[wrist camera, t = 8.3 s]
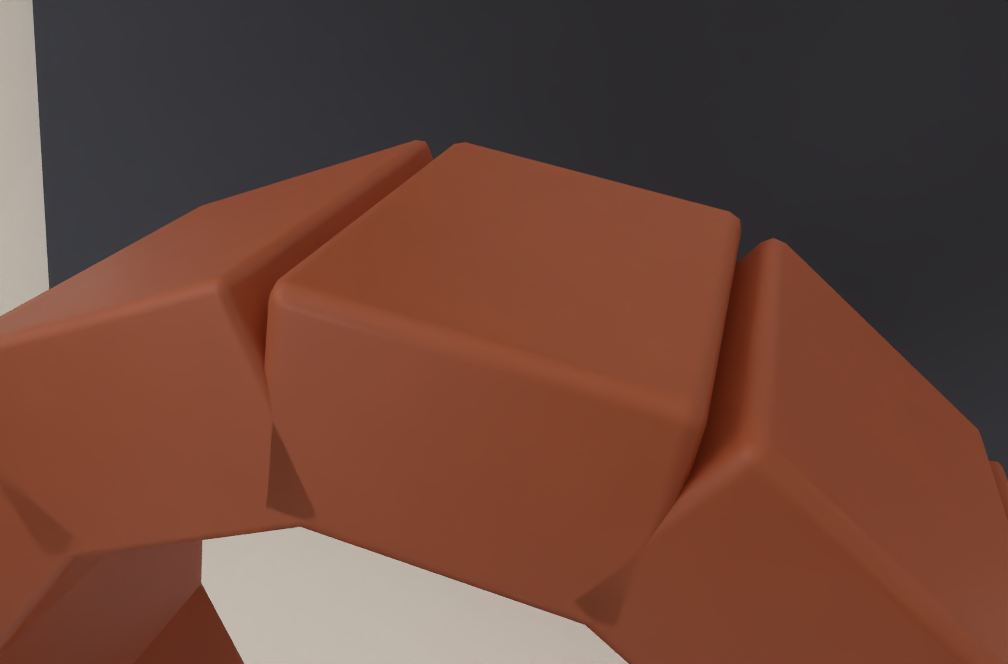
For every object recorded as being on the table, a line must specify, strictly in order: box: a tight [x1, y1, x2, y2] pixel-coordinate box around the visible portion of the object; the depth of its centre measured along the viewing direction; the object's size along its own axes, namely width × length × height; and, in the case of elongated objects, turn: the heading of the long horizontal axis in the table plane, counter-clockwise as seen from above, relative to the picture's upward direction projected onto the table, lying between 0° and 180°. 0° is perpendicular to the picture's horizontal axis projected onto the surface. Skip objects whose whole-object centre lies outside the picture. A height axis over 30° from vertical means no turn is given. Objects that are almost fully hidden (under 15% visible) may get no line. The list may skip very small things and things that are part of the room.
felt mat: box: [33, 0, 1008, 481], centre depth 13 cm, size 18×10×1 cm, turn 80°
